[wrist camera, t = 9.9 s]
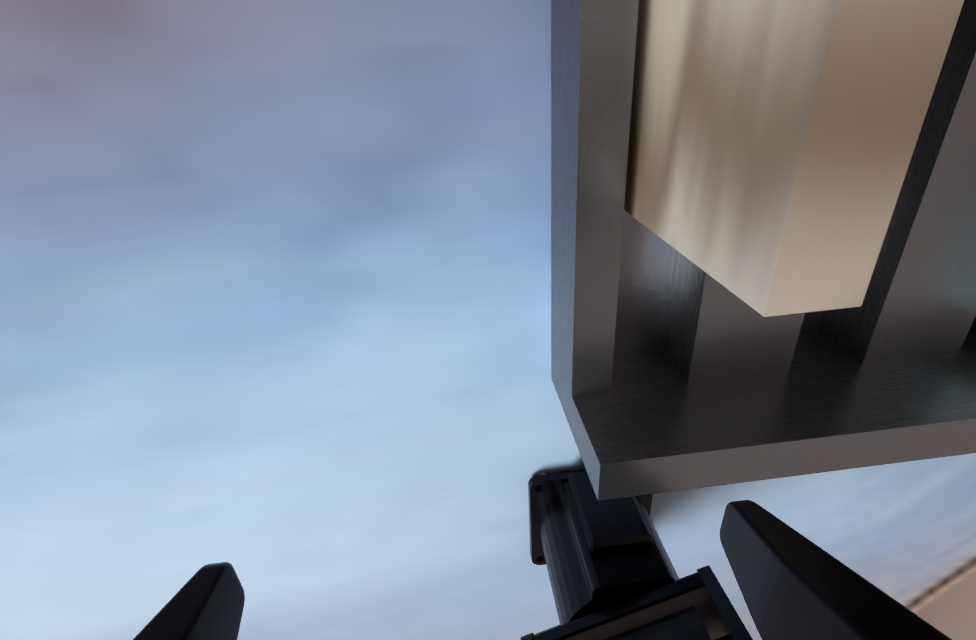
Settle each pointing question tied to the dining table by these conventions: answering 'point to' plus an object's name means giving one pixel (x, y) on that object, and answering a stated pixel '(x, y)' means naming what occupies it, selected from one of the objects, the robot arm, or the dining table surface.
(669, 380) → the rack
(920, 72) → the birch panel
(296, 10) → the dining table surface
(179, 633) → the robot arm
